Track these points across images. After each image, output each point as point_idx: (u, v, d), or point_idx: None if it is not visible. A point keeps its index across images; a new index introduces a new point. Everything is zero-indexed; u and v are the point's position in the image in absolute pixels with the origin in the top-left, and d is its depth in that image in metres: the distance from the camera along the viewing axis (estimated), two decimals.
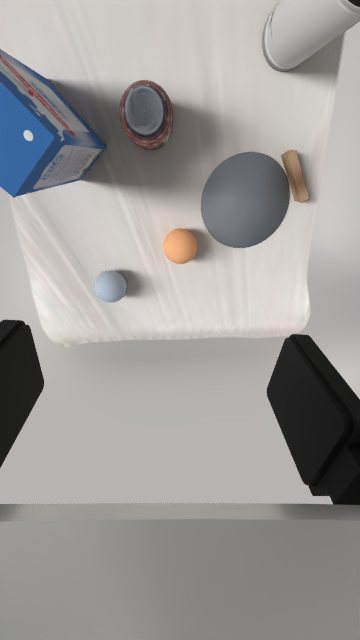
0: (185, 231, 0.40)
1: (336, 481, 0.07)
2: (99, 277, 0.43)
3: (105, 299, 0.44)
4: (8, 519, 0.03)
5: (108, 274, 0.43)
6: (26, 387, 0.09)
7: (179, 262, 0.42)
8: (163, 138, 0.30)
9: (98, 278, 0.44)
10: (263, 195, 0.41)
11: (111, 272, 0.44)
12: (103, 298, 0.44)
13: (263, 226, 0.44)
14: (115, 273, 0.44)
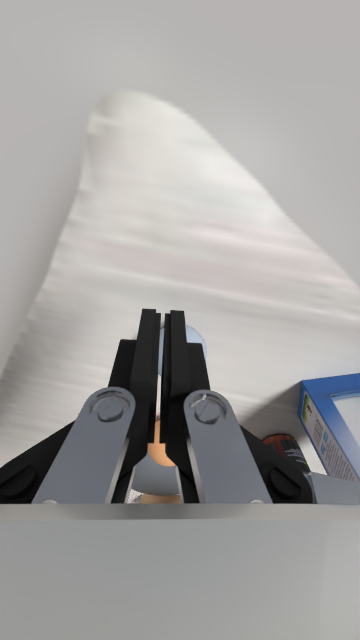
0: None
1: (167, 435, 0.07)
2: (205, 359, 0.24)
3: None
4: (8, 518, 0.03)
5: None
6: None
7: (154, 448, 0.30)
8: None
9: (205, 357, 0.24)
10: (161, 483, 0.42)
11: None
12: None
13: None
14: None
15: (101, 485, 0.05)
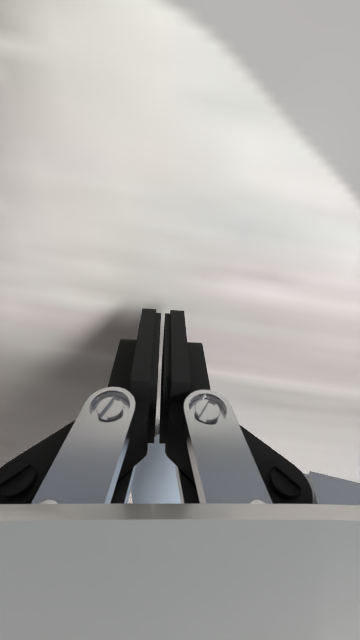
0: None
1: (167, 435, 0.07)
2: None
3: None
4: (8, 519, 0.03)
5: None
6: None
7: None
8: None
9: None
10: None
11: None
12: None
13: None
14: None
15: (101, 485, 0.05)
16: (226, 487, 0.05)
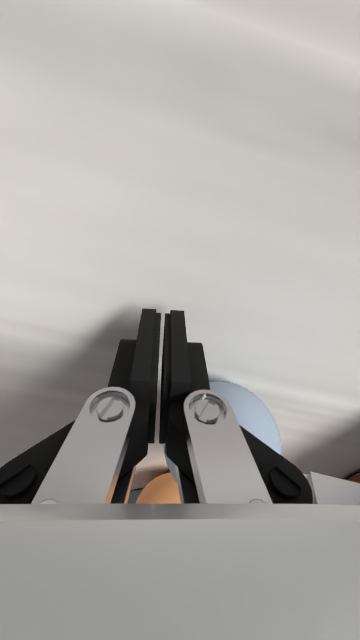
0: None
1: (167, 435, 0.07)
2: None
3: None
4: (8, 518, 0.03)
5: None
6: None
7: None
8: None
9: None
10: None
11: (256, 397, 0.13)
12: None
13: None
14: (248, 392, 0.12)
15: (101, 485, 0.05)
16: (226, 487, 0.05)
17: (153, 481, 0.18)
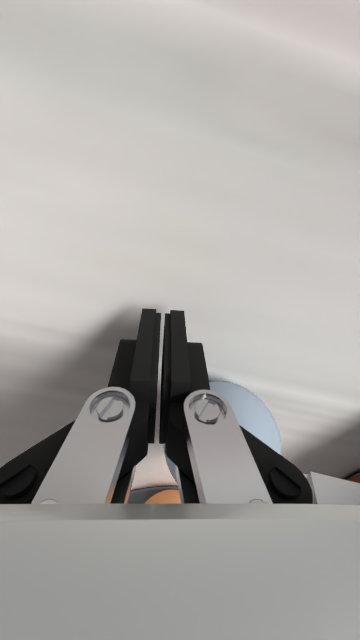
0: None
1: (167, 435, 0.07)
2: None
3: None
4: (8, 518, 0.03)
5: None
6: None
7: None
8: None
9: None
10: None
11: (256, 396, 0.13)
12: None
13: None
14: (248, 392, 0.12)
15: (101, 485, 0.05)
16: (226, 487, 0.05)
17: None
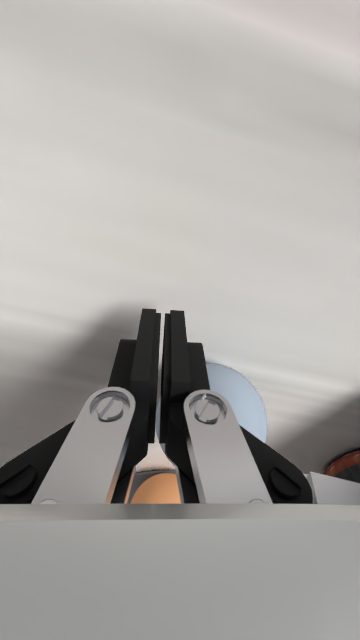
0: None
1: (167, 435, 0.07)
2: None
3: None
4: (8, 518, 0.03)
5: None
6: None
7: None
8: None
9: None
10: None
11: (244, 377, 0.13)
12: None
13: None
14: (236, 373, 0.13)
15: (101, 485, 0.05)
16: (226, 487, 0.05)
17: None
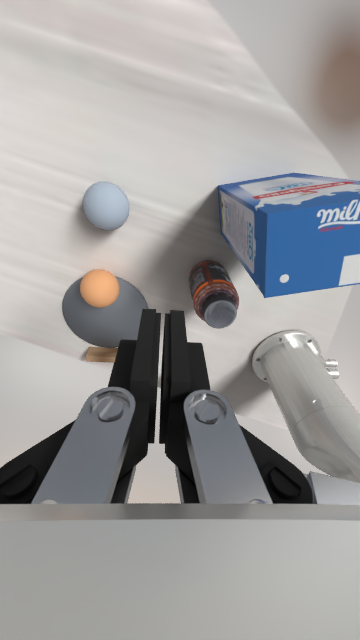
0: None
1: (167, 435, 0.07)
2: None
3: None
4: (8, 517, 0.03)
5: None
6: None
7: None
8: (195, 307, 0.33)
9: None
10: (105, 329, 0.45)
11: None
12: None
13: (78, 320, 0.44)
14: None
15: (101, 485, 0.05)
16: (226, 487, 0.05)
17: (87, 273, 0.36)
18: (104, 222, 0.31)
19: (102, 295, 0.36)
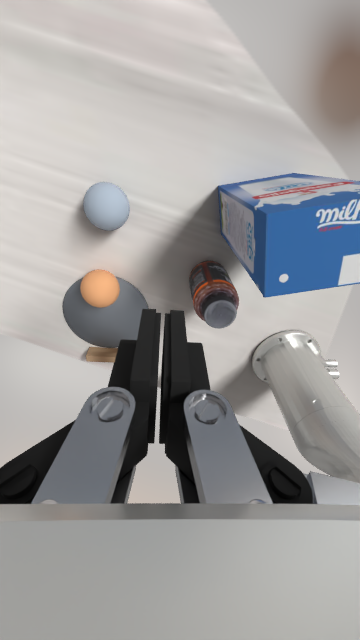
0: None
1: (167, 435, 0.07)
2: None
3: None
4: (8, 518, 0.03)
5: None
6: None
7: None
8: (195, 307, 0.34)
9: None
10: (106, 329, 0.45)
11: None
12: None
13: (78, 320, 0.44)
14: None
15: (101, 485, 0.05)
16: (226, 487, 0.05)
17: (88, 273, 0.37)
18: (104, 223, 0.31)
19: (102, 295, 0.36)
